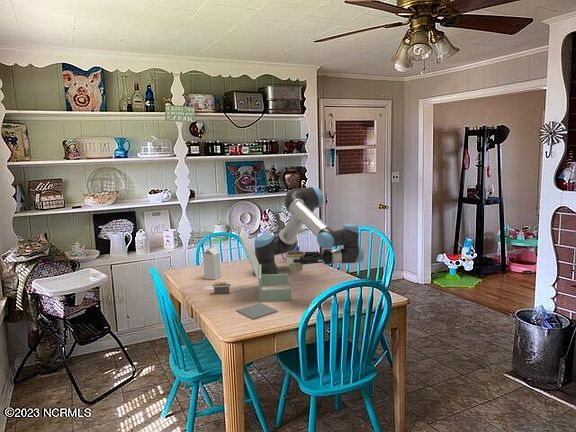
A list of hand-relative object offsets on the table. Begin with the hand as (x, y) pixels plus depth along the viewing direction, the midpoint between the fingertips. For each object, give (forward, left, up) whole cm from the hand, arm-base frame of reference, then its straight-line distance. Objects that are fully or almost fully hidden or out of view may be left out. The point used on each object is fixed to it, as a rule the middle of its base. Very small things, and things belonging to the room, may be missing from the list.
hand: (286, 258), depth 216 cm
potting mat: (+1, -19, -22) cm, 29 cm away
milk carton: (-62, -7, -22) cm, 67 cm away
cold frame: (-15, +4, -22) cm, 27 cm away
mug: (-57, +49, -22) cm, 79 cm away
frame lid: (-23, -6, +1) cm, 23 cm away
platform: (-34, -17, -23) cm, 44 cm away
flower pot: (+3, +4, -6) cm, 8 cm away
